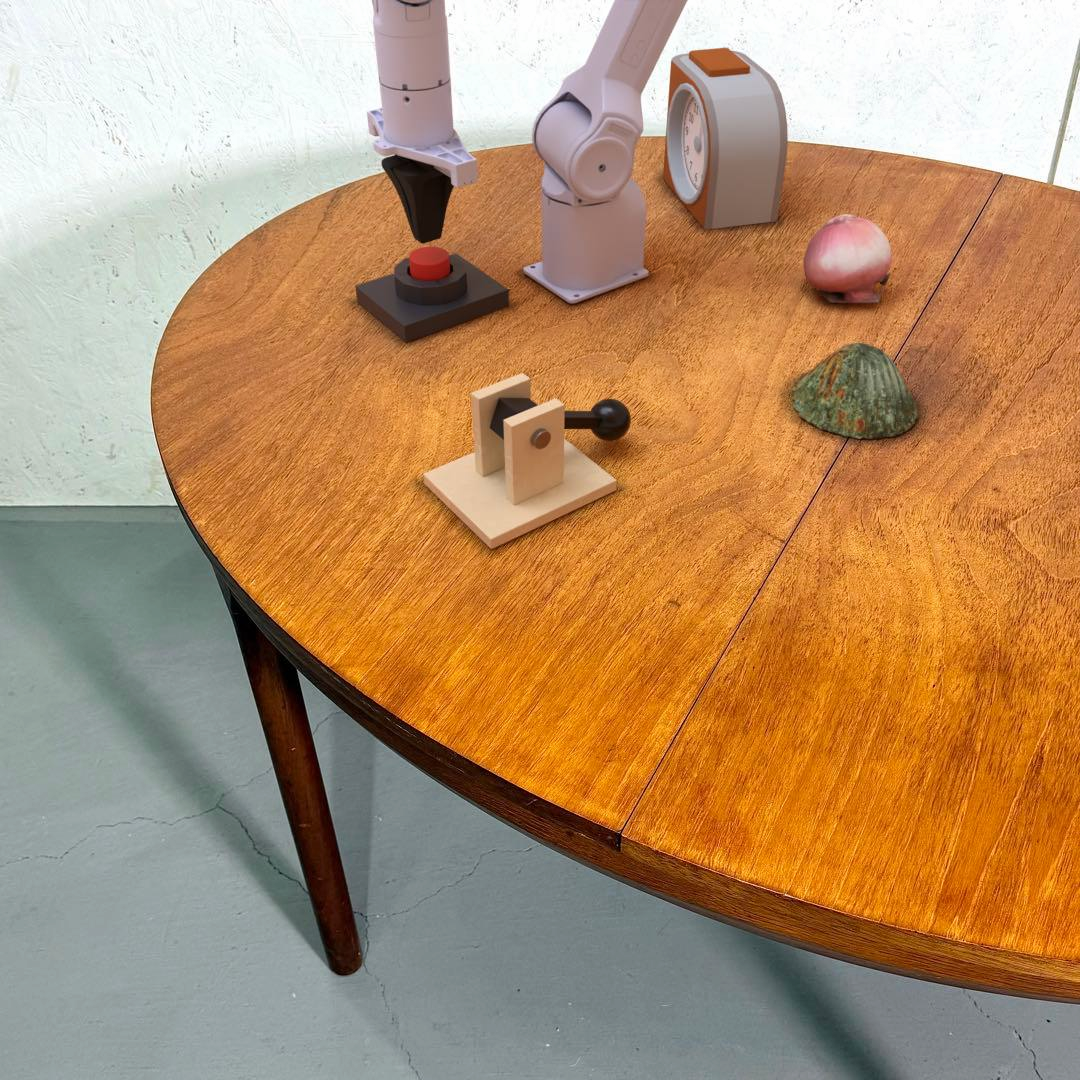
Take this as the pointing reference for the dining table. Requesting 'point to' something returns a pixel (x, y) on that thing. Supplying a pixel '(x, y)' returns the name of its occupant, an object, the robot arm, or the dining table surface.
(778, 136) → the alarm clock
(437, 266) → the button
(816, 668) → the dining table surface
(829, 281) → the onion
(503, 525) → the lever base
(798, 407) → the seashell
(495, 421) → the black lever handle
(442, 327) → the control block
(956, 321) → the dining table surface
